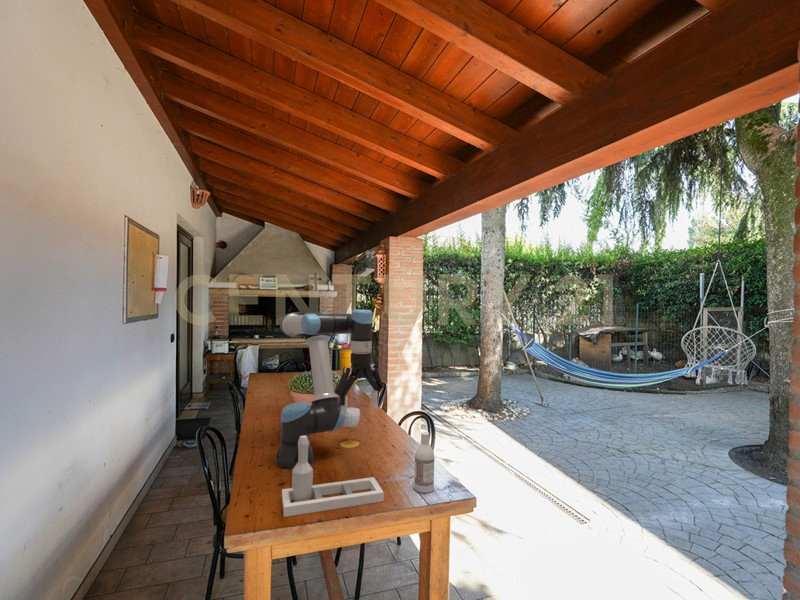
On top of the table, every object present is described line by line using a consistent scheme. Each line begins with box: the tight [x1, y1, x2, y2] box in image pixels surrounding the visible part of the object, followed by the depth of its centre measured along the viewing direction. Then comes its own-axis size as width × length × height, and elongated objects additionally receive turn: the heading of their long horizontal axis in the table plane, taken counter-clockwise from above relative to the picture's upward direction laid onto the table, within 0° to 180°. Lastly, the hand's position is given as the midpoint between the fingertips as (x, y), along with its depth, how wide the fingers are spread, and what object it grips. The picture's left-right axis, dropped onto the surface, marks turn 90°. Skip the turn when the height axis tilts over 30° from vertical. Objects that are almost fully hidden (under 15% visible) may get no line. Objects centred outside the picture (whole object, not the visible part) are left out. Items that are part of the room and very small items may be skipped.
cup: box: [339, 407, 361, 449], centre depth 182 cm, size 9×9×16 cm
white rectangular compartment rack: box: [281, 476, 385, 518], centre depth 131 cm, size 32×12×3 cm, turn 110°
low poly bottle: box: [291, 435, 314, 503], centre depth 127 cm, size 6×6×22 cm
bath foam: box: [413, 431, 435, 494], centre depth 140 cm, size 7×7×20 cm
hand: (359, 411), depth 142 cm, fingers open, 13 cm apart
